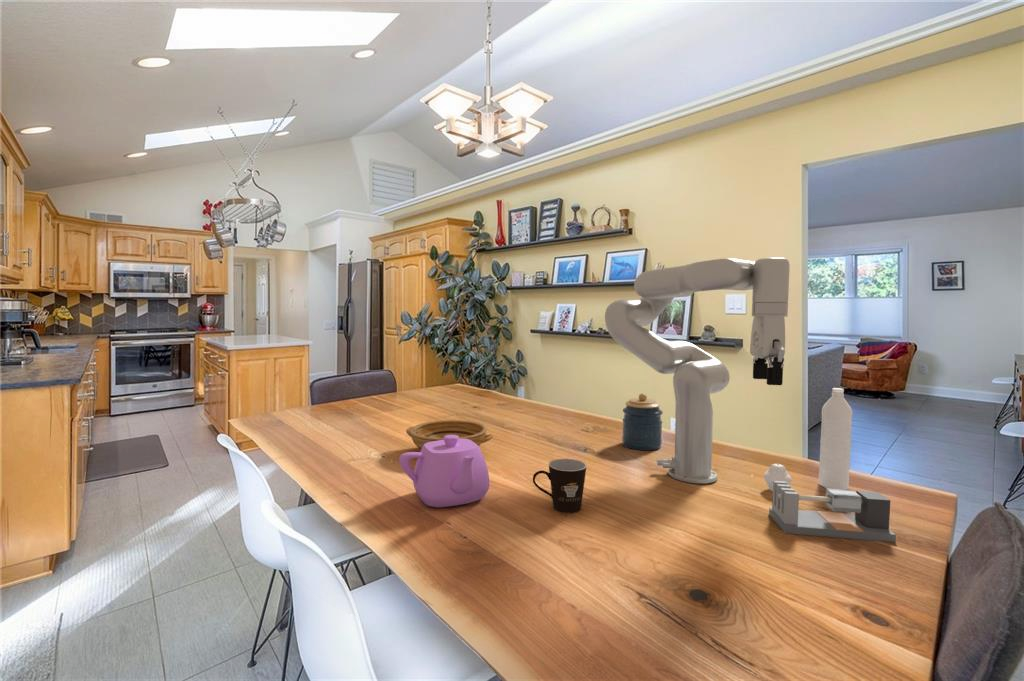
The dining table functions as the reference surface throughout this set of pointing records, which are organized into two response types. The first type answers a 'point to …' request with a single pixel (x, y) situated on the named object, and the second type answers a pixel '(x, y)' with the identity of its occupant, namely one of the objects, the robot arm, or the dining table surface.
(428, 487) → the teapot
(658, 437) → the canister
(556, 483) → the coffee mug
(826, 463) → the water bottle
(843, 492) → the sleeve
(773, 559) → the dining table surface
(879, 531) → the board
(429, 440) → the ceramic bowl
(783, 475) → the white rounded ridged piece
